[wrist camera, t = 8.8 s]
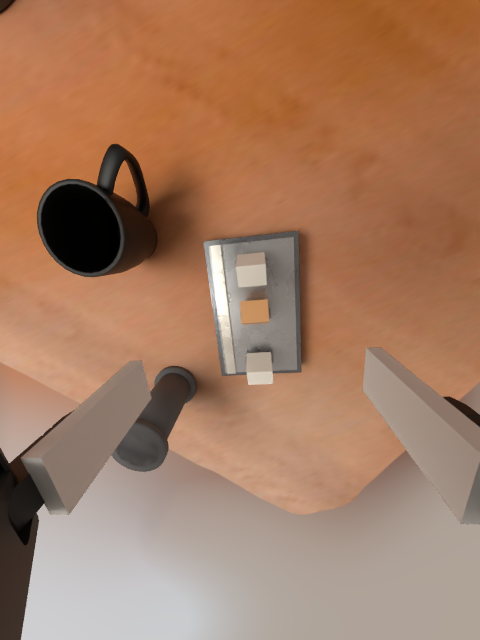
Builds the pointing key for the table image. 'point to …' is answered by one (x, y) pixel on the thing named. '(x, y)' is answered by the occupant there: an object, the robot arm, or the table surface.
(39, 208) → the mug
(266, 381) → the paddle
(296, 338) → the breaker strip
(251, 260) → the paddle
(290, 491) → the table surface
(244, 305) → the paddle mid
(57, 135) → the table surface
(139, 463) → the dark grey flanged cylinder
